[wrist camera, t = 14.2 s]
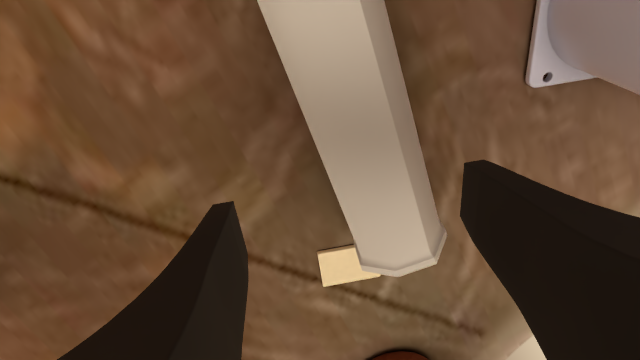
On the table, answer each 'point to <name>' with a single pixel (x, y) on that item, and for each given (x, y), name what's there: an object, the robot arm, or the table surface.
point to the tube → (361, 126)
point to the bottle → (400, 356)
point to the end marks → (341, 266)
